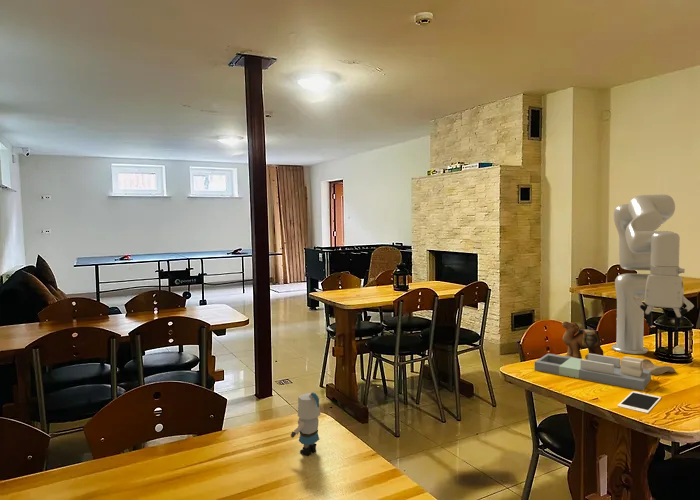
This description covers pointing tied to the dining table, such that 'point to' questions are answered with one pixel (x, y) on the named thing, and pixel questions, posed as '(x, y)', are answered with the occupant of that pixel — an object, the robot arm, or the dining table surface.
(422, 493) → the dining table surface
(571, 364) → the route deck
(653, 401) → the black and white tile
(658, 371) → the pottery shard
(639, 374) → the block
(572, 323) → the figurine
